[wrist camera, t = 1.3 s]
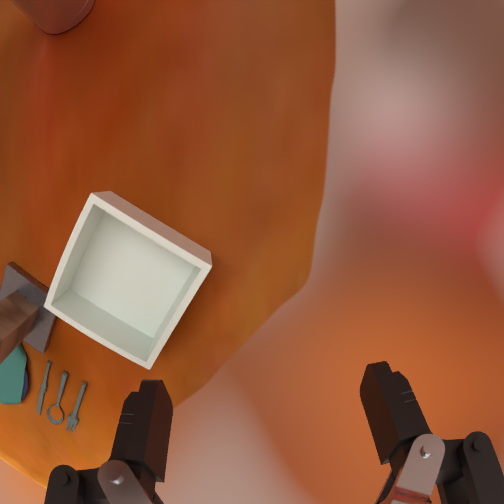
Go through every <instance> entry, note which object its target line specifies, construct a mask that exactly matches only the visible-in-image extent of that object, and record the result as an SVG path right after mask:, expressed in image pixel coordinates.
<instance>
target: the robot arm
mask: <svg viewBox="0 0 504 504" xmlns="http://www.w3.org/2000/svg"><path fill="white" fill-rule="evenodd" d="M10 1H11V2H12V3H14V4H15V5H16V6H17V7H18V8H19V9H20V10H21V11H22V12H23V13H24V14H26V15H27V16H28V17H29V18H30V19H31V20H32V21H33V22H34V23H35V24H36V25H37V26H39V27H40V28H41V29H42V30H43V31H44V32H45V33H48V34H59V33H62V32H65V31H67V30H69V29H71V28H73V27H74V26H76V25H77V24H78V23H80V22H81V21H82V20H83V19H84V18H85V17H86V16H87V15H88V13H89V12H90V10H91V9H92V7H93V4H94V1H95V0H10ZM360 397H361V401H362V404H363V407H364V410H365V413H366V417H367V420H368V423H369V426H370V429H371V432H372V436H373V439H374V442H375V446H376V449H377V452H378V456H379V459H380V462H381V465H383V464H386V463H390V466H391V470H390V472H389V474H388V477H387V478H386V481H385V483H384V485H383V487H382V489H381V491H380V493H379V495H378V497H377V499H376V501H375V503H374V504H432V502H431V500H430V495H431V492H432V490H433V487H434V484H437V488H438V492H439V495H440V499H441V504H504V475H503V473H502V470H501V467H500V464H499V461H498V459H497V456H496V453H495V451H494V448H493V445H492V443H491V440H490V438H489V437H488V436H487V435H486V434H485V433H483V432H472V433H470V434H469V435H468V436H467V437H466V438H465V439H456V440H443V439H441V438H439V437H438V436H436V435H434V434H433V433H432V432H431V431H430V429H429V427H428V425H427V423H426V420H425V418H424V416H423V414H422V411H421V409H420V406H419V404H418V402H417V400H416V397H415V395H414V393H413V392H412V389H411V386H410V384H409V382H408V380H407V379H406V378H405V377H404V376H403V375H402V374H401V373H400V372H399V371H397V372H393V373H392V371H391V369H390V367H389V364H388V363H387V362H386V361H382V362H377V363H372V364H368V365H367V367H366V370H365V373H364V376H363V379H362V383H361V385H360ZM121 413H122V414H121V416H120V419H119V424H118V427H117V431H116V435H115V440H114V444H113V448H112V452H111V456H110V458H109V460H108V461H107V462H105V463H104V464H102V466H101V467H99V468H95V469H87V470H77V471H76V470H75V469H73V468H72V467H70V466H68V465H59V466H57V467H55V468H54V469H53V470H52V472H51V474H50V477H49V482H48V487H47V492H46V497H45V503H44V504H164V503H163V501H162V500H161V499H160V497H159V496H158V495H157V493H156V491H155V482H164V479H165V469H166V461H167V453H168V444H169V437H170V430H171V423H172V416H173V405H172V401H171V398H170V396H169V394H168V392H167V390H166V387H165V385H164V383H163V381H162V380H149V379H144V380H142V382H141V385H140V389H139V392H131V393H130V395H129V396H128V397H127V398H126V400H125V401H124V404H123V408H122V412H121Z"/></svg>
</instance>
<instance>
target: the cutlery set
mask: <svg viewBox="0 0 504 504" xmlns="http://www.w3.org/2000/svg"><path fill="white" fill-rule="evenodd" d="M26 359H27V357H26V353H25V351H24V349H23V347H22V345H21V344H19V345H18V346H17V347H16V348H15V349H14V350H13V351H12V352H11V353H10V354H9V356H8V357H7V358H6V359H5V360H4V361H3V362H2V363H1V364H0V402H1V403H2V404H19V403H20V404H21V400H22V399H24V398H25V395H26V393H27V390H28V374H27V370H26V367H25V366H26ZM51 363H52V362H51V361H49V360H48V361H47V369H46V373H45V376H44V380H43V382H42V384H41V388H40V390H41V392H40V395H39V398H38V403H37V412H38V414H39V415H40V413H41V408H42V402H43V397H44V393H45V392H46V391H47V390H46V387H47V383H46V381H47V376H48V371H49V367H50V364H51ZM67 376H68V373H66V372H63V373H62V378H61V383H60V388H59V393H58V399H57V404H55V405H51V406H57V407H59V408H60V406H59V402H60V399H61V395H62V391H63V388H64V385H65V382H66V379H67ZM86 384H87V383H86V382H84V381H83V383H82V387H81V389H80V392H79V395H78V399H77V402H76V405H75V408H74V411H73V412H72V414H69V415H68V421H67V428H66V429H68V427H69V424H70V429H69V431H70V430H71V428H72V426H73V430H72V432H74V429H75V427H76V425H77V423H78V420H79V418H78V417H77V411H78V408H79V405H80V402H81V399H82V396H83V393H84V390H85V387H86ZM51 406H49V408H48V410H47V415H48V418H49V420H50V422H52V423H53V424H55V425H57V424H60V423H61V422H62V420H63V417H62V418H61V420H58V421H56V420H54V419H53V418H52V417H51V415H50V408H51ZM60 410H61V408H60ZM61 412H62V410H61ZM62 415H63V412H62ZM70 422H71V423H70ZM73 423H74V424H73Z"/></svg>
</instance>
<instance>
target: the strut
mask: <svg viewBox="0 0 504 504" xmlns="http://www.w3.org/2000/svg"><path fill="white" fill-rule="evenodd" d="M38 309H39V307H38V306H36V305H35V304H33V303H32V302H31V301H29V300H28V299H27V298H25V297H24V296H23V295H21V294H20V293H19V292H17V291H14V292H13V293H11V294H10V295H8V296H7V297H5V298H4V299H2V300H1V301H0V364H1V363H2V362H3V361H4V360H5V359H6V358H7V357H8V356H9V354H10V353H11V352H12V351H13V350H14V349H15V348H16V347H17V346H18V345H19V344H20V343H21V342H22V341H23V340H24V339H25V338H26V337H27V336H28V335H29V334H30V333H31V332H32V330H33V326H34V322H35V319H36V316H37V312H38Z"/></svg>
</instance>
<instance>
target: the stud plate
mask: <svg viewBox="0 0 504 504" xmlns="http://www.w3.org/2000/svg"><path fill="white" fill-rule="evenodd" d="M14 291H17V292H19V293H20V294H21V295H23V296H24V297H25V298H27V299H28V300H29V301H31V302H32V303H33V304H35V305H36V306H38V307H39V309H38V312H37V316H36V319H35V322H34V326H33V330H32V332H31V333H30V334H29V335H28V336H27V337H26V338H25V339H24V341H25V342H26V343H28V344H29V345H31V346H32V347H33V348H35V349H36V350H38V351H39V352H41V353H42V354H43V353H44V352H45V351H46V350H47V347H48V343H49V340H50V337H51V334H52V331H53V328H54V325H55V322H56V319H57V316H56V315H55V314H53V313H52V312H50V311H49V310H48V309H46V308H45V307H44V304H45V301H46V298H47V295H48V292H49V288H48V287H46V286H45V285H43V284H42V283H41V282H39V281H38V280H36V279H35V278H34V277H32V276H31V275H30V274H28V273H27V272H26V271H24V270H23V269H22V268H20V267H19V266H18V265H16V264H15V263H14V262H13V261H12V262H10V263H8V264H7V267H6V270H5V274H4V278H3V282H2V286H1V290H0V301H1V300H2V299H4V298H5V297H7V296H8V295H10V294H11V293H13V292H14Z"/></svg>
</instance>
